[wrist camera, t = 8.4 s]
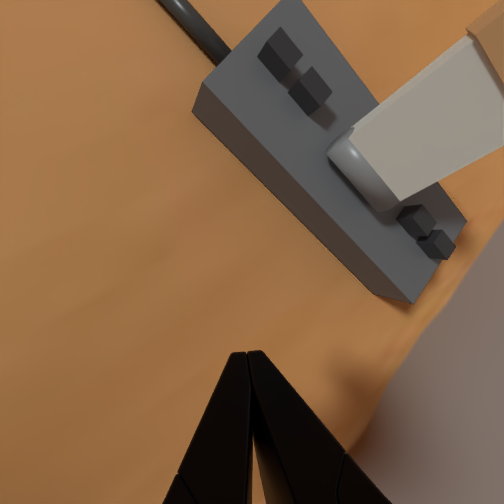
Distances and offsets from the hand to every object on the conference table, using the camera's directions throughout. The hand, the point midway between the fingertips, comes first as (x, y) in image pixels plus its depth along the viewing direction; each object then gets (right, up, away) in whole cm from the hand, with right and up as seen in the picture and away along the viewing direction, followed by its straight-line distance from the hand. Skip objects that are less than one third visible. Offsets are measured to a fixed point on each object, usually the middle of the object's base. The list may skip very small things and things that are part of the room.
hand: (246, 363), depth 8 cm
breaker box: (+3, +11, +14) cm, 18 cm away
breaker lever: (+7, +8, +10) cm, 14 cm away
